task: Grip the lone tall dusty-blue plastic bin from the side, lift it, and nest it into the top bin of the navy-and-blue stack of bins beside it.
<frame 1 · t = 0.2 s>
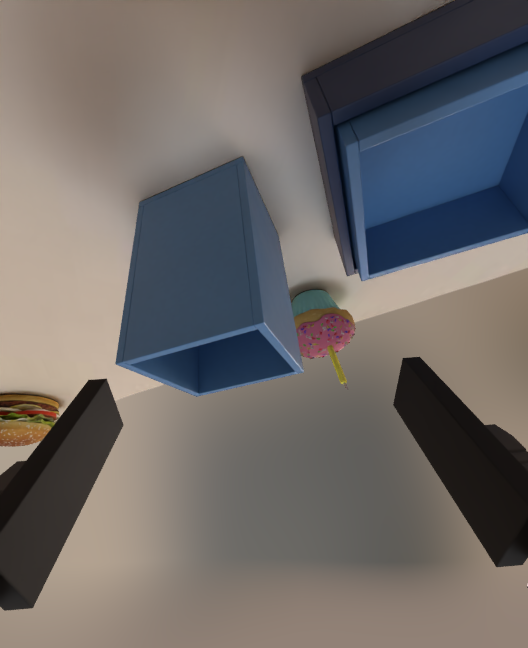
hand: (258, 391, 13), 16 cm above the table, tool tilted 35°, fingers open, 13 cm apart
food: (23, 400, 56), on the table
bin stack: (422, 139, 20), on the table
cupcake: (310, 299, 36), on the table
lone bin: (215, 220, 24), on the table
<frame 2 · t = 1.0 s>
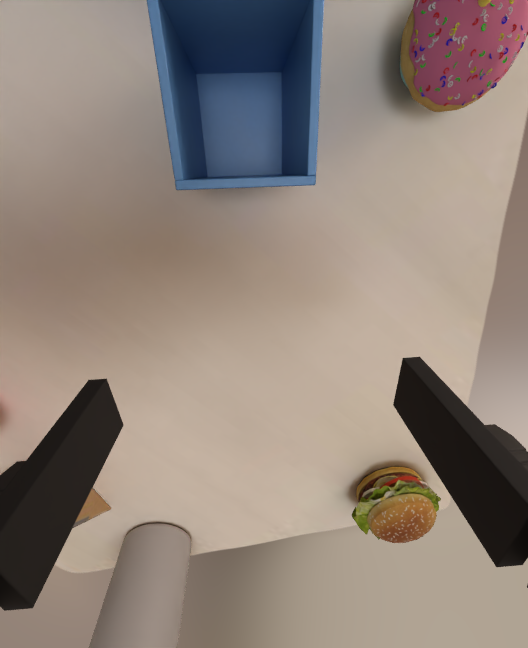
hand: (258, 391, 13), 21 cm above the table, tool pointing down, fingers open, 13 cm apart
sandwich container: (64, 488, 47), on the table
food: (384, 483, 52), on the table
cylinder vase: (159, 538, 56), on the table
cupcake: (427, 58, 25), on the table
lone bin: (242, 128, 26), on the table
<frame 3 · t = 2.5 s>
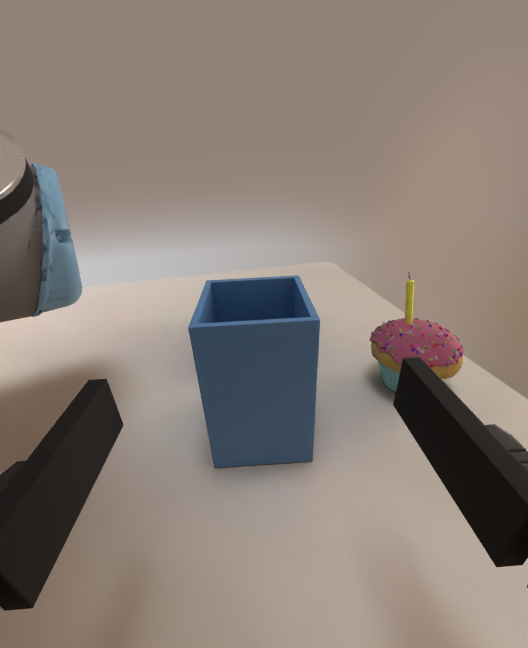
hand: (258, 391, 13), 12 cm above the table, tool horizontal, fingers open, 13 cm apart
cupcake: (406, 383, 32), on the table
lone bin: (261, 424, 27), on the table
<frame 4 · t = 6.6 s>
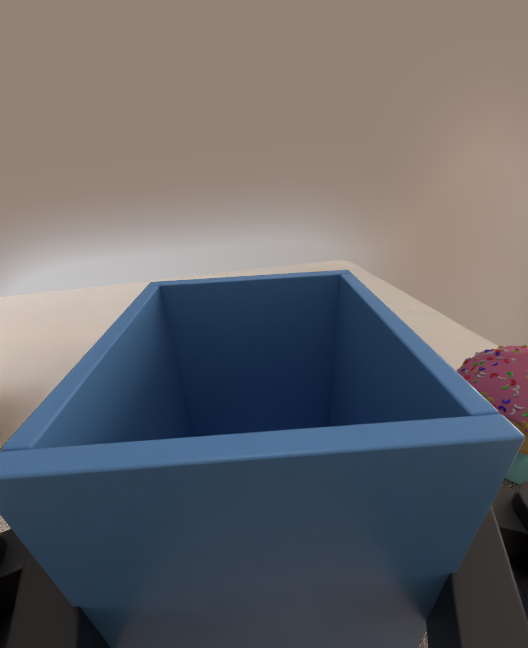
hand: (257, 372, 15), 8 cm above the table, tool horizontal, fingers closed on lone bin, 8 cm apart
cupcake: (517, 457, 18), on the table
lone bin: (269, 565, 14), on the table, touching gripper
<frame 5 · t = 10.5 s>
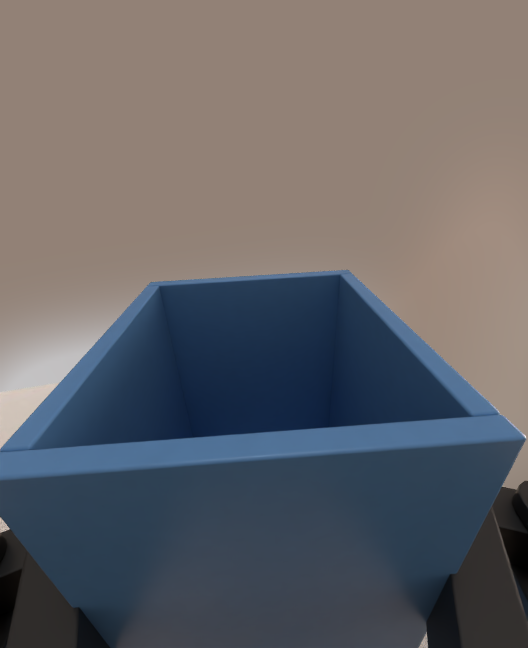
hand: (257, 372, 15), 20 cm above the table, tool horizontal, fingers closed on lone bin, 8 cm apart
lone bin: (269, 565, 14), point 12 cm above the table, touching gripper
when the fingers open (9 cm above the table, at t = 14.6 s): lone bin stays where it is, resting on bin stack.
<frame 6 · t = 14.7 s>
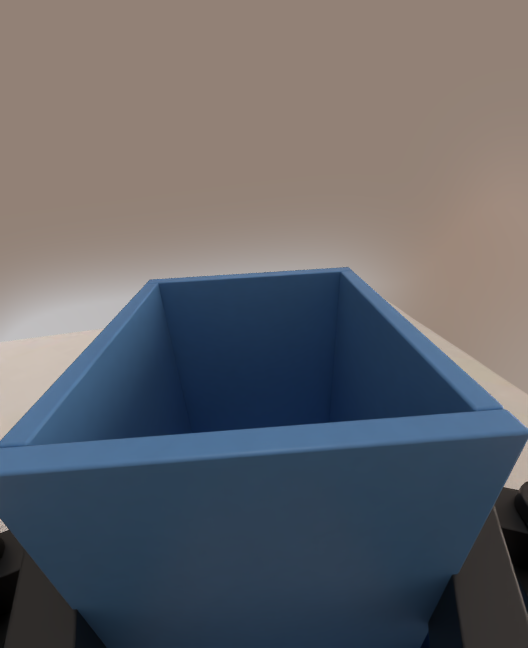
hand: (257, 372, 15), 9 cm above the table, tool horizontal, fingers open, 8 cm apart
lone bin: (270, 564, 14), point 1 cm above the table, touching bin stack
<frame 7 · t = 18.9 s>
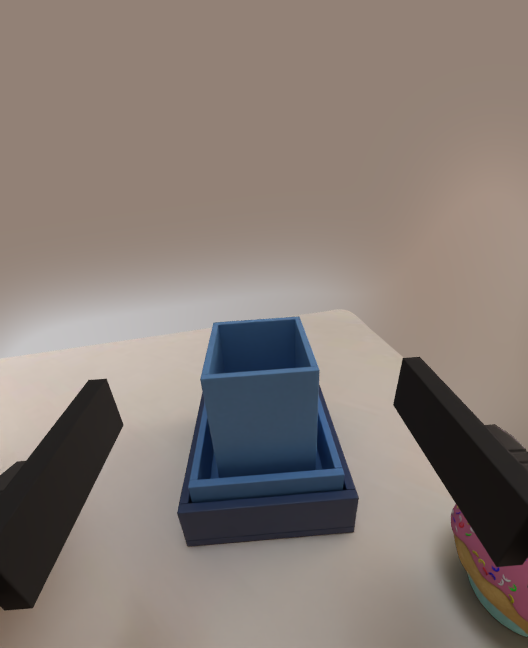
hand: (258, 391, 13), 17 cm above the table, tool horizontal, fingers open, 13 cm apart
bin stack: (266, 463, 30), on the table
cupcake: (509, 591, 20), on the table
lone bin: (266, 454, 29), point 1 cm above the table, touching bin stack
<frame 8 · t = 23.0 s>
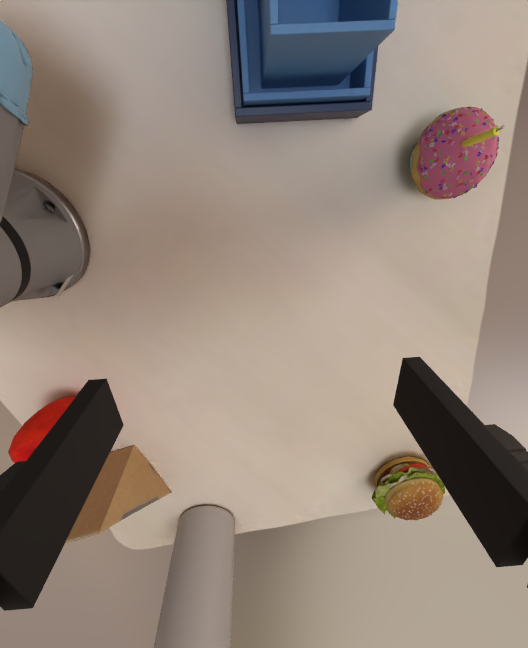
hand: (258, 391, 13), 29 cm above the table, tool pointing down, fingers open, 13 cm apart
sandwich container: (135, 474, 58), on the table
food: (398, 471, 62), on the table
bin stack: (297, 37, 29), on the table
cylinder vase: (207, 519, 66), on the table
apple: (76, 405, 49), on the table
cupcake: (429, 158, 35), on the table
lone bin: (300, 31, 28), point 1 cm above the table, touching bin stack
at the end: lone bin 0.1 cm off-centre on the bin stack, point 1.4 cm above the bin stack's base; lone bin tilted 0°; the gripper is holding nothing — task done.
